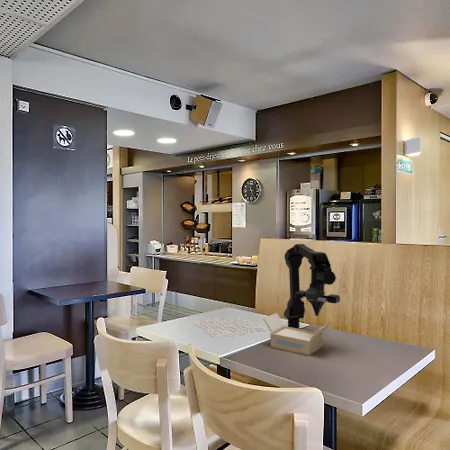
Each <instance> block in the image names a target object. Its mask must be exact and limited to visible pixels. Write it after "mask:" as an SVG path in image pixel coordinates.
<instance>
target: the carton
mask: <svg viewBox="0 0 450 450" xmlns="http://www.w3.org/2000/svg"><path fill="white" fill-rule="evenodd" d="M316 332H317V331H311V330H305V329H303V328H302V329H297V328H291V327H288V326H283V327H281V328H279V329H277V330H275V331H273V332H270V336H269V337H270V338H269V339H270V341H269V342H270V345H269V347H270V348H273V349H277V350H282V351H286V352H290V353H295V354H299V355H303V356H308V357H309V356H311V355H313V354H314V353H316V352H317V351H318V350H320V349H321V348H323V332H322V333H321V334H320V335H318V336H317V337H315V338H313V339H312V340H310V338H311V337H312V336H313V335H314V334H315V333H316Z"/></svg>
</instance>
